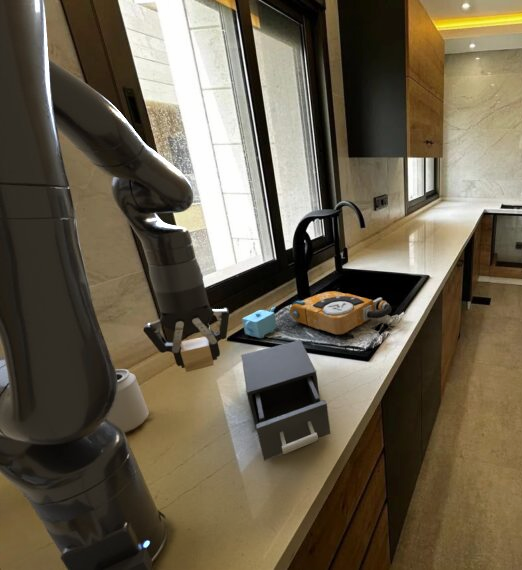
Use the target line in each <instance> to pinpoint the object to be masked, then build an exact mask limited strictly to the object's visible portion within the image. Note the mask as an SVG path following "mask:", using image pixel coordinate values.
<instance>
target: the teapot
mask: <svg viewBox="0 0 522 570" xmlns="http://www.w3.org/2000/svg"><path fill="white" fill-rule="evenodd" d="M275 309H276V306H273V307H271V309H270V310H265V309H259V310H257V311H255V312H253V313H251V314H249V315H246V316H244V317H243V318H241V320H242V325H243V330H244V334H245V335H247V336H251V337H255V338H258V339H264V338H265V336H266V335H267V334H273V333H274V330H276V329H277V328H278V325H277V319H276V313H275V312H274V311H275Z"/></svg>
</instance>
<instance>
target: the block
mask: <svg viewBox="0 0 522 570" xmlns="http://www.w3.org/2000/svg"><path fill="white" fill-rule="evenodd" d="M180 346H181V352H180V353H181V356H182V359H183V363H184V366H185V368H184V369H185V372H186V373H188V372H189V373H190V372H193V371H196V370H201V369H204V368H208V367H212V366H214V365H215V363H214V362H215V360H213V358H212V354H211V350H210V346H209V341H208V340H207V338H206V337H204V336H201V337H196V338H192V339H188V340H181V345H180Z"/></svg>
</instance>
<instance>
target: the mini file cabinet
mask: <svg viewBox="0 0 522 570" xmlns="http://www.w3.org/2000/svg"><path fill="white" fill-rule="evenodd" d="M255 397H256V403H257V408H258V414H259V419H260V423H258V424H256V429H255V430H256V433H257V437H258V441H259V446H260V450H261V454H262V458H263V461H267V460H270V459H273V458H275V457H277V456H280V455H285V454H288V453H290V452H293V451H295V450H298V449H300V448H303V447H305V446H308V445H311V444H313V443H315V442H317V441H319V439H322V438H324V437H327V436H329V435H331V428H330V427H331V425H330V419H329V412H328V404H327V402H326V400H325V399H324V400H321V397H320V394H319V395H318V393H317V391H316V389H315V386H314V384H313V382H312V380H311V377H310V376H309V377H306V378H303V379H300V380H296V381H293V382H290V383H287V384H284V385H280V386H277V387H274V388H271V389H268V390H264V391H261V392H258V393H255ZM319 397H320V398H319Z"/></svg>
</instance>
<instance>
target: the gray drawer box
mask: <svg viewBox="0 0 522 570" xmlns="http://www.w3.org/2000/svg"><path fill="white" fill-rule="evenodd" d="M240 357H241V362H242V368H243V375H244V382H245V390H246V395H247V399H248V404H249V407H250V412H251V416H252V421H253V425H254V428H255V430H257V429H256V424H258V423H260V419H259V414H258V408H257V403H256V397H255V393H258V392H261V391H264V390H268V389H271V388H274V387H277V386H280V385H284V384H287V383H290V382H293V381H296V380H300V379H303V378H306V377H309V376H310V377H311V380H312V382H313V384H314V386H315V389H316V391H317V393H318V395H319V398H320V399H321V397H320V390H319V384H318V377H317V376H318V375H317V370H316V369H315V366H314V364H313V362H312V360H311V357H310V356H309V354H308V352H307V350H306V348H305V345H304V344H303V342H302V340H301V339H298V340H295V341H291V342H286V343H283V344H279V345H275V346H271V347H266V348H263V349H259V350H255V351H251V352H247V353H243V354H241V355H240Z"/></svg>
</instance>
